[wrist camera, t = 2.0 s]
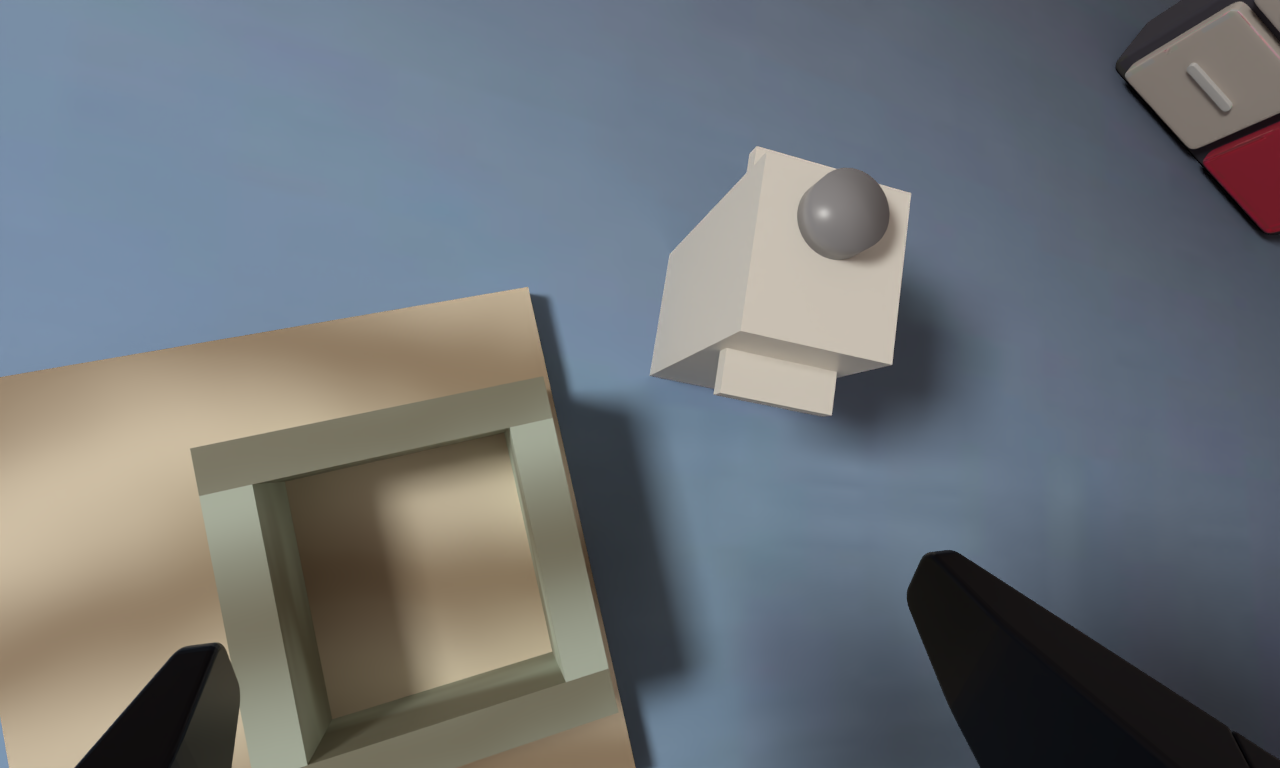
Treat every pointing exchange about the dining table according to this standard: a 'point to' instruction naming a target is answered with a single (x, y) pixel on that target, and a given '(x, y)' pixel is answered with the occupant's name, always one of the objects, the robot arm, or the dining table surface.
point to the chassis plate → (309, 546)
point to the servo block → (785, 285)
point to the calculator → (1218, 92)
